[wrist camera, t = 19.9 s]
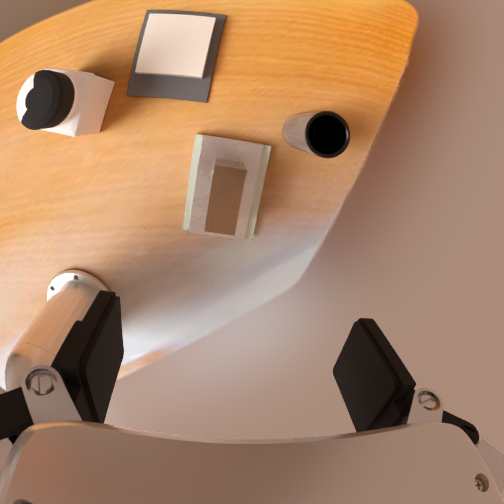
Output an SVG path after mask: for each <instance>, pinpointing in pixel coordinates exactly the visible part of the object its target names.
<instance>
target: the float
mask: <svg viewBox="0 0 504 504" xmlns="http://www.w3.org/2000/svg"><path fill="white" fill-rule="evenodd" d="M262 149H263V145H260V144H254V143H249V142H243V141H238V140H232V139H225V138H219V137H212V136H205V135H203V139H202V145H201V150H200V156H199V163H198V169H197V175H196V182H195V189H194V196H193V203H192V210H191V218H190V225H189V233H193V234H200V235H207V236H215V237H222V238H229V239H236V240H243V241H244V239H245V234H246V229H247V224H248V219H249V214H250V209H251V204H252V199H253V194H254V189H255V184H256V179H257V174H258V169H259V164H260V159H261V154H262Z"/></svg>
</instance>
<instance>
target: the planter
mask: <svg viewBox="0 0 504 504" xmlns="http://www.w3.org/2000/svg"><path fill="white" fill-rule="evenodd" d="M283 136H284V138H285V140H286V142H287V143H288V144H289V145H290V146H292V147H294V148H296V149H299V150H302V151H305V152H308V153H311V154H314V155H316V156H319V157H322V158H333V157H336V156H338V155H340V154H341V153H343V152H344V151H345V149H346V148H347V146H348V144H349V140H350V131H349V127H348V125H347V123H346V121H345V120H344V119H343V118H342V117H341V116H340V115H338V114H337V113H334V112H331V111H319V112H309V113H300V114H295V115H293V116H291V117H289V118H288V119H287V120H286V122H285V123H284V126H283Z"/></svg>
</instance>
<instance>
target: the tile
mask: <svg viewBox="0 0 504 504" xmlns="http://www.w3.org/2000/svg"><path fill="white" fill-rule="evenodd" d="M215 23H216V18H215V17H206V16H195V15H181V14H149V18H148V21H147V25H146V28H145V32H144V36H143V40H142V44H141V48H140V52H139V56H138V61H137V65H136V70H135V72H136V73H137V74H148V75H165V76H177V77H188V78H197V79H203V74H204V70H205V65H206V60H207V56H208V52H209V47H210V43H211V39H212V35H213V31H214V27H215Z"/></svg>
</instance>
